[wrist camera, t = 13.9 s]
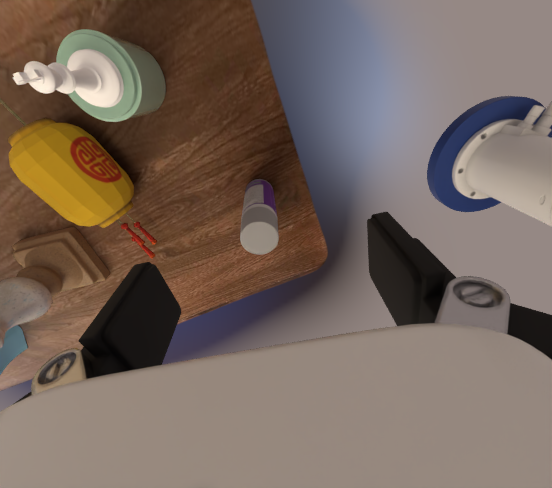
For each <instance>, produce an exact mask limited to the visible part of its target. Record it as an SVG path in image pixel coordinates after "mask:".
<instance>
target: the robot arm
mask: <svg viewBox="0 0 552 488" xmlns="http://www.w3.org/2000/svg"><path fill="white" fill-rule="evenodd" d="M544 109H545V108H544V107H542V106H538V105H534V106H533V107H532V109H531V110H530V111H529V113H528V114H527V116H526V118H525V119H524V120H523V121H522V120H517V119H504V120H499V121H496V122H493V123H491V124H489V125H487V126H485V127H483V128H482V129H481V130H479V131H478V132H476V133H475V134H474V135H473V136H472V137H471V138H470V139H469V140H468V141H467V142H466V143H465V144H464V146H463V147H462V148H461V150H460V152H459V153H458V155H457V157H456V159H455V162H454V165H453V169H452V180H453V184H454V186H455V188H456V189H457V191H458V192H460V193H461V194H462V195H464V196H466V197H468V198H472V199H484V198H489V197H492V198H494V199H496V200H498V201H500V202H502V203H504V204H507V205H508V206H510V207H513V208H515V209H517V210H519V211H521V212H523V213H525V214H527V215H529V216H531V217H533V218H535V219H538V220H540V221H542V222H544V223H546V224H548V225H550V226H552V138H550V137H548V134H549V133H550V132H551V129H550V127H551V125H552V102H551V103H550V104H549V106H548V107H547V108H546V110H545V111H544V112H543V110H544ZM542 112H543V114H542V116H541V118H540V119H539V120H538V122H537V123H536V124H535V125H534V124H533V123H534V121H535V120H536V119H537V118H538V117H539V116H540V114H541V113H542ZM367 228H368V255H369V273H370V276H371V278H372V280H373V282H374V284H375V286H376V288H377V290H378V291H379V293H380V295H381V297H382V299H383V301H384V302H385V304H386V306H387V308H388V310H389V312H390V313H391V315H392V317H393V319H394V321H395V322H396V324H397V326H395V327H387V328H379V329H373V330H366V331H360V332H353V333H347V334H340V335H335V336H329V337H322V338H316V339H311V340H304V341H299V342H292V343H286V344H280V345H274V346H269V347H262V348H256V349H250V350H244V351H239V352H233V353H227V354H221V355H215V356H210V357H204V358H198V359H192V360H187V361H181V362H176V363H170V364H164V365H162V362H163V359H164V357H165V354H166V352H167V349H168V346H169V344H170V341H171V339H172V336H173V333H174V331H175V328H176V325H177V323H178V320H179V317H180V315H181V308H180V306H179V304H178V302H177V301H176V299H175V297H174V295H173V294H172V292H171V290H170V289H169V287H168V285H167V284H166V282H165V280H164V279H163V277H162V275H161V274H160V272H159V270H158V268H157V267H156V266H155V265H154V264H151V263H150V262H146V263H141V264H137V265H134V266H133V268H132V269H131V270H130V272H129V273H128V274H127V276H126V277H125V279H124V280H123V281H122V283H121V284H120V285H119V287H118V288H117V289H116V291H115V292H114V293H113V295H112V296H111V297H110V299H109V300H108V301H107V303H106V304H105V306H104V307H103V308H102V310H101V311H100V312H99V314H98V315H97V316H96V318H95V319H94V320H93V322H92V323H91V324H90V326H89V327H88V329H87V330H86V331H85V333H84V334H83V335H82V337H81V338H80V339H79V342H80V343H81V344H82V345H83V346H84V347H83V349H82V350H81V351H80V350H79V349H77V348H71V349H68V350H65V351H62V352H61V353H59V354H57V355H55V356H54V357H52V358H51V359H50V360H48V361H47V362H46V363H45V364H44V365H43V366H42V367H41V368H40V369H39V370H38V371H37V373H36V374H35V376H34V378H33V380H32V387H31V392H30V393H28V394H27V395H25V396H24V397H23V398H21V399H20V400H18V401H17V402H16V403H14V404H13V405H11V406H9V407H8V408H6V409H4V410H2V411H1V412H0V488H552V315H549V314H546V313H543V312H539V311H536V310H532V309H529V308H525V307H522V306H518V305H515V304H511V303H510V297H509V294H508V293H507V292H506V291H505V289H503V288H502V287H501V286H499V285H498V284H496V283H494V282H492V281H490V280H487V279H484V278H480V277H473V276H468V277H467V276H464V277H459V278H456V277H455V276H454V275H453V274H452V273H451V272H450V271H449V270H448V269H447V268H446V267H445V266H444V265H443V264H442V263H441V262H440V261H439V260H438V259H437V258H436V257H435V256H434V255H433V254H432V253H431V252H430V251H429V250H428V249H427V248H426V247H425V246H424V245H423V244H422V243H421V242H420V240H418V239H416V238H412V237H411V236H410V235H409V234H408V233H407V232H406V231H405V230H404V229H403V228H402V227H401V225H400V224H399V223H398V222H396V220H395V219H393V217H392V216H391V215H390V214H389V213H388V212H383V213H378V214H373V215H372V218H371V219H368V220H367Z"/></svg>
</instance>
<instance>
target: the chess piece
mask: <svg viewBox="0 0 552 488" xmlns="http://www.w3.org/2000/svg"><path fill="white" fill-rule="evenodd" d="M13 75H14V77H13V79H14V81H15V82H16V83H17V85H23V84H26V83H28V82H29V84H30V85H31V86H32V87H33V88H34V89H36V90H37V91H39V92H41V93H46V94H47V93H52V92H54V91H55V90H57V91H59V92H61V93H65V94H69V93H72V92H73V91H74V90H75V91H76V93H77V94H78V95H79V96H80V97H81V98H82V99H84V100H85V101H86V102H88V103H90V104H92V105H94V106H98V107H104V108H107V107H112V106H115V105H116V104H117V103H119V101H120V100H121V98H122V96H123V92H124V84H123V79H122V76H121V74H120V72H119V70H118V68H117V67H116V65H115V64H114V63H113V62H112V61H111V60H110V59H109V58H108V57H107V56H106V55H104V54H103V53H101V52H99V51H96V50H92V49H82V50H78V51H76V52H74V53H73V54H72V55H71V56H70V58H69V60H68V63H67V67H66V66H64V65H63V64H60V63H51V64H50V65H48V66H46V65H44V64H42V63H40V62H36V61H31V62H28V63H27V64H26V65H25V68H24V72H17V73H15V74H13Z"/></svg>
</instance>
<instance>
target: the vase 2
mask: <svg viewBox="0 0 552 488" xmlns="http://www.w3.org/2000/svg"><path fill="white" fill-rule="evenodd" d="M27 348H28V347H27V344H26V341H25V337H24V334H23V331H22V329H21V328H20V327H19V326H14V327H12V328H10V329H8V330H7V331H6V333H5V338H4V344H3V346H2V347H1V348H0V375H1V373H2V372H3V370H4V369H5V368H6V366H7V365H8V364H9V363H10V362H11V361H12V360H13V359H14V358H15V357H16V356H17V355H19V354H20V353H21V352H23V351H24V350H26V349H27Z"/></svg>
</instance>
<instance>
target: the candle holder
mask: <svg viewBox="0 0 552 488" xmlns="http://www.w3.org/2000/svg"><path fill="white" fill-rule="evenodd" d="M11 247H12V248H13V249H14V252H13V253H12V255H13V257H14V258H15V259H16V260H17V262H18V263H19V264H20V265H21V266H22V267H23V268H24V269H22V270H21V271H20V272H19V273H18V274H17V276H16V277H10V278H6V279H3V280H1V281H0V348H1V347H2V346H3V344H4V338H5V333H6V331H7V330H8V329H10V328H12V327H14V326H17V325H19V324H23V323H26V322H29V321H32V320H35V319H37V318H39V317H41V316H42V315H44V314H45V313H46V312H47V311H48V310H49V309H50V307H51V305H52V297H54V296H56V295H57V294H59V293H60V292H62V291H66V290H71V289H75V288H79V287H83V286H87V285H90V284H93V283H97V282H100V281H104V280H106V278H107V277H108V276H109V275H110V272H109V271H108V269H107V268H106V266H105V265H104V264H103V262H102V261H101V260H100V258H99V257H98V256H97V254H96V253H95V252H94V250H93V249H92V248H91V246H90V245H89V244H88V242H87V241H86V240H85V238H84V237H83V236H82V234H81V233H80V232H79V231H78V230H77V229H76V228H75V227H69V228H64V229H60V230H56V231H52V232H49V233H45V234H41V235H37V236H33V237H29V238H25V239H22V240H20V241H18V242H17V243H15V244H14V245H13V246H11Z"/></svg>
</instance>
